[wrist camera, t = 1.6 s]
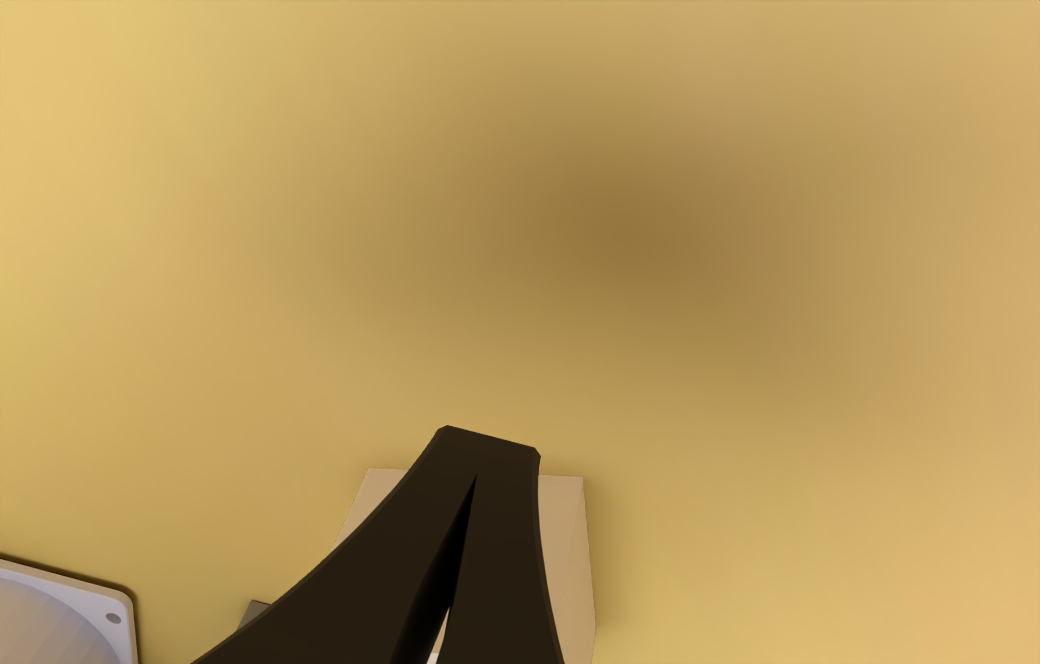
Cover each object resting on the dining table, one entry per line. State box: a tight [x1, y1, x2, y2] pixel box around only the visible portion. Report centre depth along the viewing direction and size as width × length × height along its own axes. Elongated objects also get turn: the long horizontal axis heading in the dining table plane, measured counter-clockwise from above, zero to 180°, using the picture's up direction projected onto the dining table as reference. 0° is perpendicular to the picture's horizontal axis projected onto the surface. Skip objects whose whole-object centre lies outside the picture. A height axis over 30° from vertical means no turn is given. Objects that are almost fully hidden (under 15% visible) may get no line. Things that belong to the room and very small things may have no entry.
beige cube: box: [330, 468, 596, 664], centre depth 25 cm, size 6×6×6 cm
